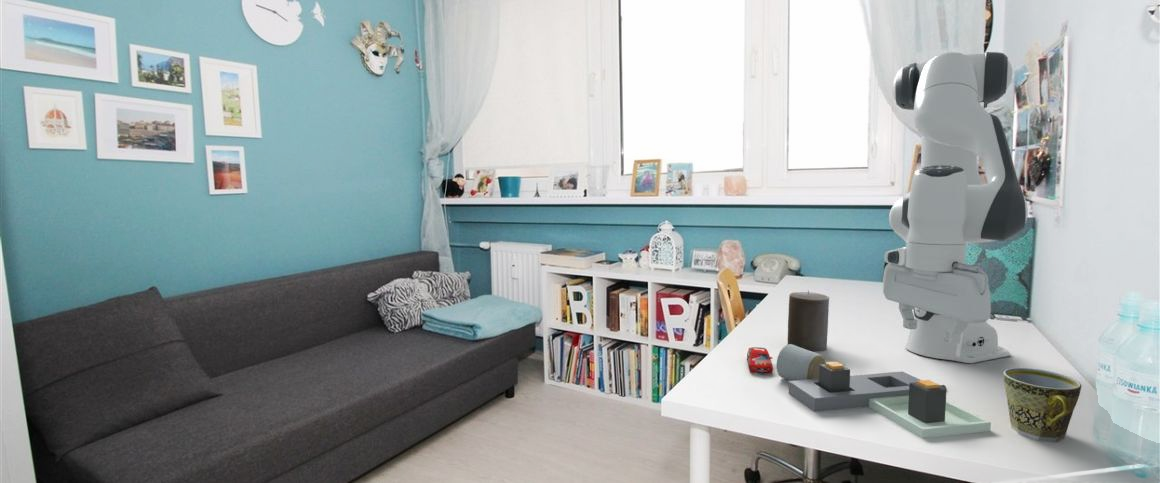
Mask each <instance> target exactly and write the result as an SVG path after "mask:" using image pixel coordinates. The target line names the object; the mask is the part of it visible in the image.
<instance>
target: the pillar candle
mask: <svg viewBox="0 0 1160 483" xmlns="http://www.w3.org/2000/svg"><path fill="white" fill-rule="evenodd" d="M788 296H789V297H788V298H789V299H788V315H787V316H788V320H787V343H786V345H788V344H792V345H795V346H798V347H800V348H803V349H806V350H809V351H812V352H815V353H818V352H820V353H821V352H824V351H826V350H827V348H828V330H829V327H828V326H829V310H830V309H829V306H830V296H827V295H826V294H822V293H817V292H810V291H809V290H807V291H797V292H796V291H795V292H791V293H789V295H788Z"/></svg>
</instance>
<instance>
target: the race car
mask: <svg viewBox="0 0 1160 483" xmlns="http://www.w3.org/2000/svg"><path fill="white" fill-rule="evenodd" d="M772 359H773V357H772V356H770V354H769V351H768V349H767V348H766V347H757V346H756V347H755V346H754V347H753V346H751V347H749V348H748V350H747V354H746V360H747V365H748V370H749V373H751V374H753V373H754V374H756V375H757V374H758V375H770V374H771V375H772V374H773V373H774V366H773V363H772Z"/></svg>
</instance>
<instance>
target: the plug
mask: <svg viewBox="0 0 1160 483" xmlns="http://www.w3.org/2000/svg"><path fill="white" fill-rule="evenodd" d="M920 380H921V381H917V382H913V383H909V403H908V414H909V415H911V416H912V417H914V418H916V419H918V420H920V421H921V422H923V423H935V422H944V421H945V409H946V401H947V389H945V388H943V387H941V386H939V385H940V384H939V383H936V382H934V381H932V380H930V379H923V380H922V379H920Z"/></svg>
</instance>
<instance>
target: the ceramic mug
mask: <svg viewBox="0 0 1160 483" xmlns="http://www.w3.org/2000/svg"><path fill="white" fill-rule="evenodd" d="M825 362H827V360H826V359H825V357H824V356H823V355H821V354H819V353H818V352H812V351H809V350H806V349H803V348H800V347H798V346H795V345H792V344H788V345H787V344H786V345H784V346H783V347H782V349H780V351H779V352H778V356H777V358H776V363H775V364H776V371H777V374H778V376H779V377H780V378H782V379H786V380H787V381H795V380H807V379H819V364H825Z"/></svg>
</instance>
